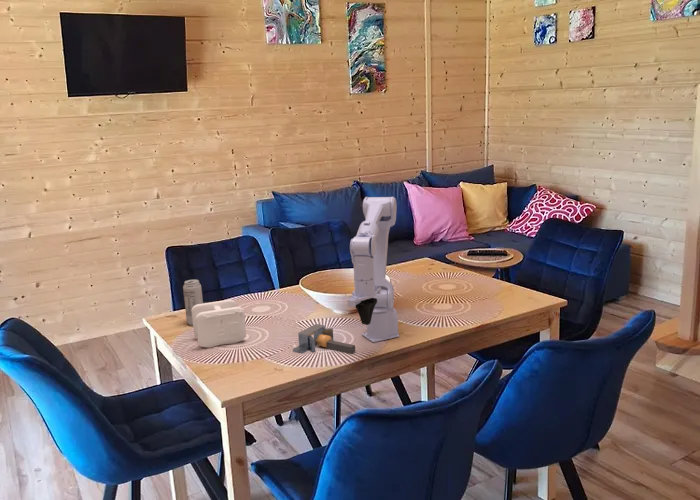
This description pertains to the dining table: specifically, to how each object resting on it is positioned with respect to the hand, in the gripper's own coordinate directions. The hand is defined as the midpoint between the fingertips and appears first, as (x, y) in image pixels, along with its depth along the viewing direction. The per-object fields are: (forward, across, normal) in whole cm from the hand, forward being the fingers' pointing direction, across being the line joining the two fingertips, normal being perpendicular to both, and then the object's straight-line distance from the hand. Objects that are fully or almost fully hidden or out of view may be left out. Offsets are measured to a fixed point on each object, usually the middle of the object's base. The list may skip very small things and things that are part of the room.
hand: (366, 323), depth 187 cm
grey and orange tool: (+10, 0, -11) cm, 15 cm away
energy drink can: (+10, +4, -68) cm, 69 cm away
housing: (+10, 0, -19) cm, 21 cm away
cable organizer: (+10, +12, -48) cm, 50 cm away
